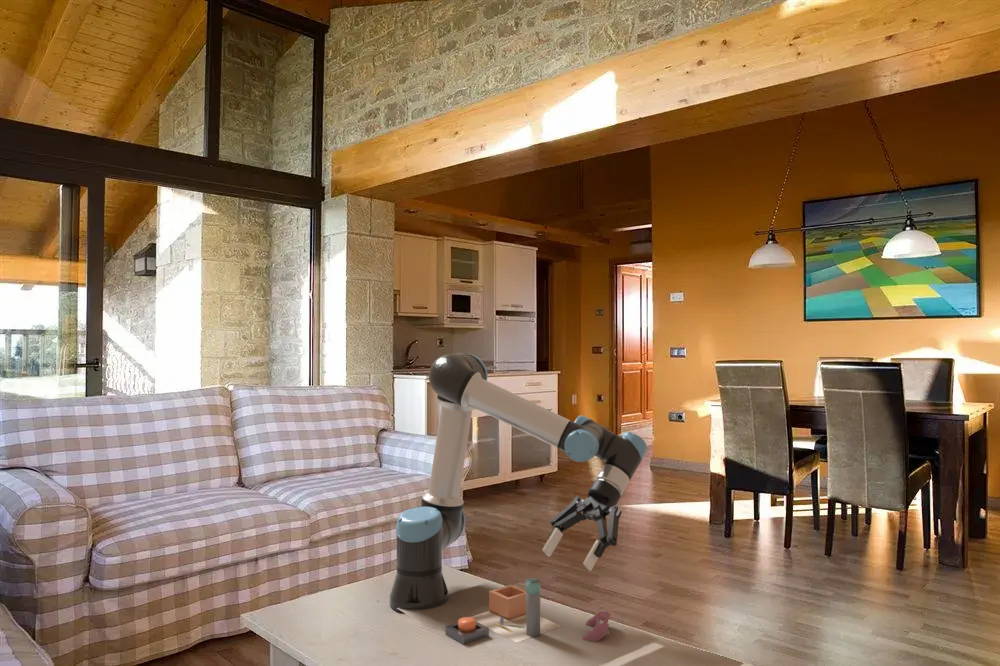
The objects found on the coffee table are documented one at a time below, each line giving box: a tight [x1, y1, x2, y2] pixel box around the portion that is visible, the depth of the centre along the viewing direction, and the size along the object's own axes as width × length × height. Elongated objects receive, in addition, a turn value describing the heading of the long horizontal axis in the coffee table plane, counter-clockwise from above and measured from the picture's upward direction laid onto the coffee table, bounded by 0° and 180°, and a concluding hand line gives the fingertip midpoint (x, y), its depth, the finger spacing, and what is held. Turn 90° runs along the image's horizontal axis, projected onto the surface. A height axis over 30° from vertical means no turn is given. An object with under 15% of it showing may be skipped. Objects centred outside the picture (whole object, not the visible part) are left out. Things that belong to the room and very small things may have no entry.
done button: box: [457, 616, 476, 633], centre depth 159 cm, size 4×4×2 cm
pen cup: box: [488, 584, 526, 621], centre depth 172 cm, size 7×7×5 cm
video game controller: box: [582, 609, 611, 642], centre depth 160 cm, size 10×5×7 cm, turn 169°
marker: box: [525, 577, 541, 638], centre depth 160 cm, size 3×3×12 cm
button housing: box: [445, 622, 490, 646], centre depth 159 cm, size 7×7×3 cm
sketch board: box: [470, 610, 562, 644], centre depth 166 cm, size 20×16×1 cm
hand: (565, 560), depth 166 cm, fingers open, 13 cm apart
